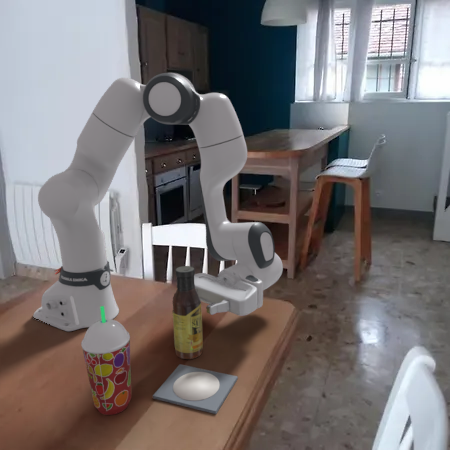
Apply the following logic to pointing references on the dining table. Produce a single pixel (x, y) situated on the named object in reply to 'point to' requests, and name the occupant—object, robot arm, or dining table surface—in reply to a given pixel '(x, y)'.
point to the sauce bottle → (187, 315)
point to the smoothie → (108, 364)
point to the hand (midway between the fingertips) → (193, 304)
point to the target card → (196, 388)
